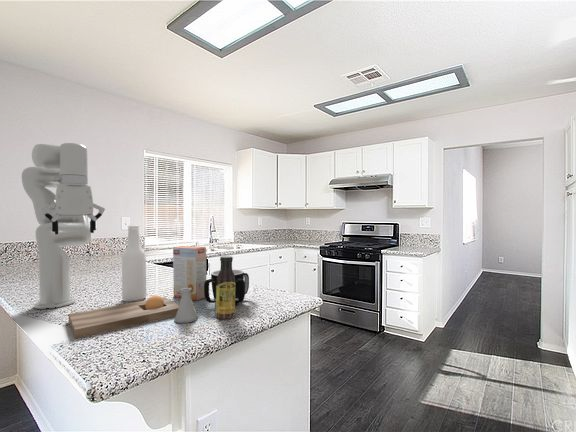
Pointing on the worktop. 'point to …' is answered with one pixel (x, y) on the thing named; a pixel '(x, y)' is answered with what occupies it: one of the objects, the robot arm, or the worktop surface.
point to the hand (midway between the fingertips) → (74, 233)
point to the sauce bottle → (225, 289)
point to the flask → (186, 308)
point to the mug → (240, 286)
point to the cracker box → (189, 270)
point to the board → (118, 317)
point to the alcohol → (133, 268)
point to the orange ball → (154, 302)
